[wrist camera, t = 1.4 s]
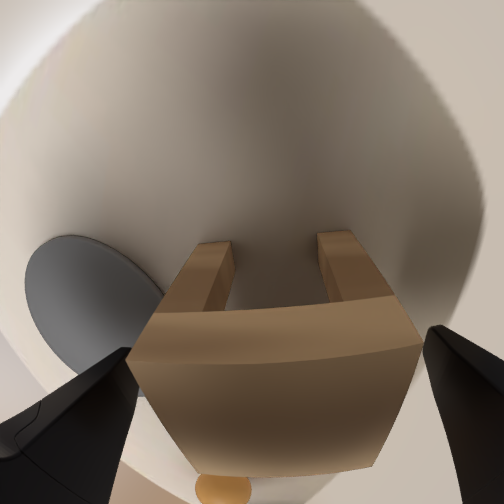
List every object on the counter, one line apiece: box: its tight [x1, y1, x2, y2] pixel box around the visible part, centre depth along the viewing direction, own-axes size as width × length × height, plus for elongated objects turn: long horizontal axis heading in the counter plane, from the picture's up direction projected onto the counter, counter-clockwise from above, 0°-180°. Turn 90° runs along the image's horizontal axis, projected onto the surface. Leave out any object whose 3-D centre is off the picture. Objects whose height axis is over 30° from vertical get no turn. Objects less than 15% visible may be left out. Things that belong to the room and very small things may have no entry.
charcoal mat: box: [25, 235, 164, 397], centre depth 11 cm, size 9×9×1 cm
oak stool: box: [126, 230, 424, 477], centre depth 7 cm, size 5×5×6 cm
